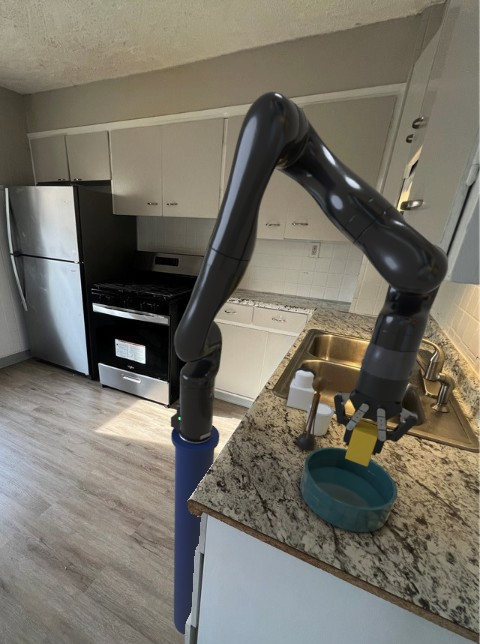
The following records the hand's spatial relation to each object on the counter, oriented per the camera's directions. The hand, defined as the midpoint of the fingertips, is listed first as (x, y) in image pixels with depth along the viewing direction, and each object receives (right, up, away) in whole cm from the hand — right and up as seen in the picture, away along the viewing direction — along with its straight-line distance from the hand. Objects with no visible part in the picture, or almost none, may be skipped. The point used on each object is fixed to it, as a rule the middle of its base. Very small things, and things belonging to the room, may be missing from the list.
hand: (360, 447), depth 61 cm
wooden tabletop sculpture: (-3, -5, +21) cm, 22 cm away
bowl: (-1, -12, +6) cm, 13 cm away
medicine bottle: (+2, +4, +40) cm, 40 cm away
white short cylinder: (+2, -2, +27) cm, 27 cm away
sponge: (0, -2, +1) cm, 2 cm away
